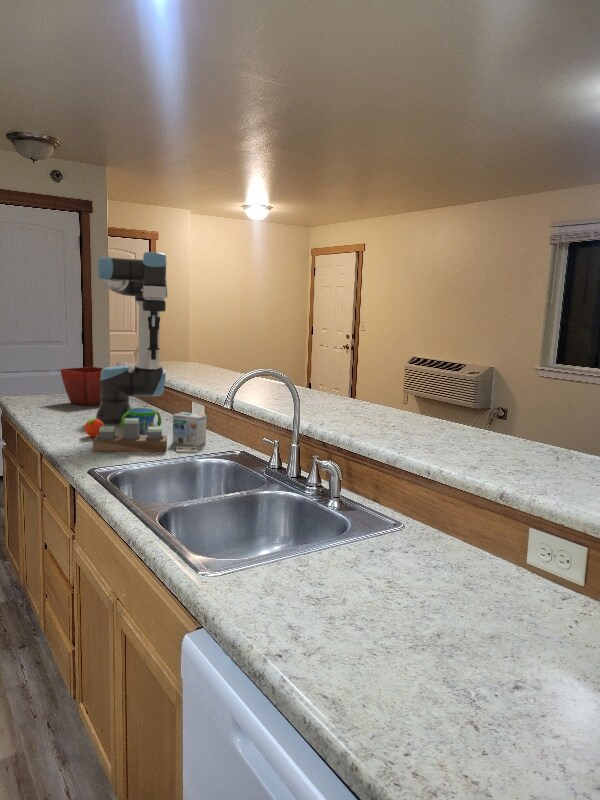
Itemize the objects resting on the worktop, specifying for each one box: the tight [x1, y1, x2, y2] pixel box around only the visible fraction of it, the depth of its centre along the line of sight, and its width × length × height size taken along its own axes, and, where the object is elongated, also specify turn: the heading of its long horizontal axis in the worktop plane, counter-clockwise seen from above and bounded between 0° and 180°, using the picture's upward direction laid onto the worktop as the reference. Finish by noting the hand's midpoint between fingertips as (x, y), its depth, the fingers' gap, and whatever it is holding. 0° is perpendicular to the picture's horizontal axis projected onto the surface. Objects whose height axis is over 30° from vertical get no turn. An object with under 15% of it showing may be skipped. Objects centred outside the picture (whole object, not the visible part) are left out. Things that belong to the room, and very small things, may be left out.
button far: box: [148, 426, 163, 440], centre depth 209 cm, size 5×5×7 cm
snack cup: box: [120, 407, 162, 435], centre depth 228 cm, size 16×10×10 cm
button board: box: [92, 434, 168, 453], centre depth 208 cm, size 10×24×4 cm, turn 101°
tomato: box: [84, 417, 105, 438], centre depth 223 cm, size 8×7×7 cm
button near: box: [99, 425, 116, 439], centre depth 206 cm, size 5×5×7 cm
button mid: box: [123, 418, 139, 440], centre depth 207 cm, size 5×5×7 cm
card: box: [176, 446, 198, 454], centre depth 210 cm, size 6×7×1 cm
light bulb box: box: [172, 411, 207, 447], centre depth 221 cm, size 11×7×11 cm, turn 70°
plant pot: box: [60, 366, 104, 406], centre depth 294 cm, size 19×19×17 cm
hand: (153, 368), depth 205 cm, fingers closed
